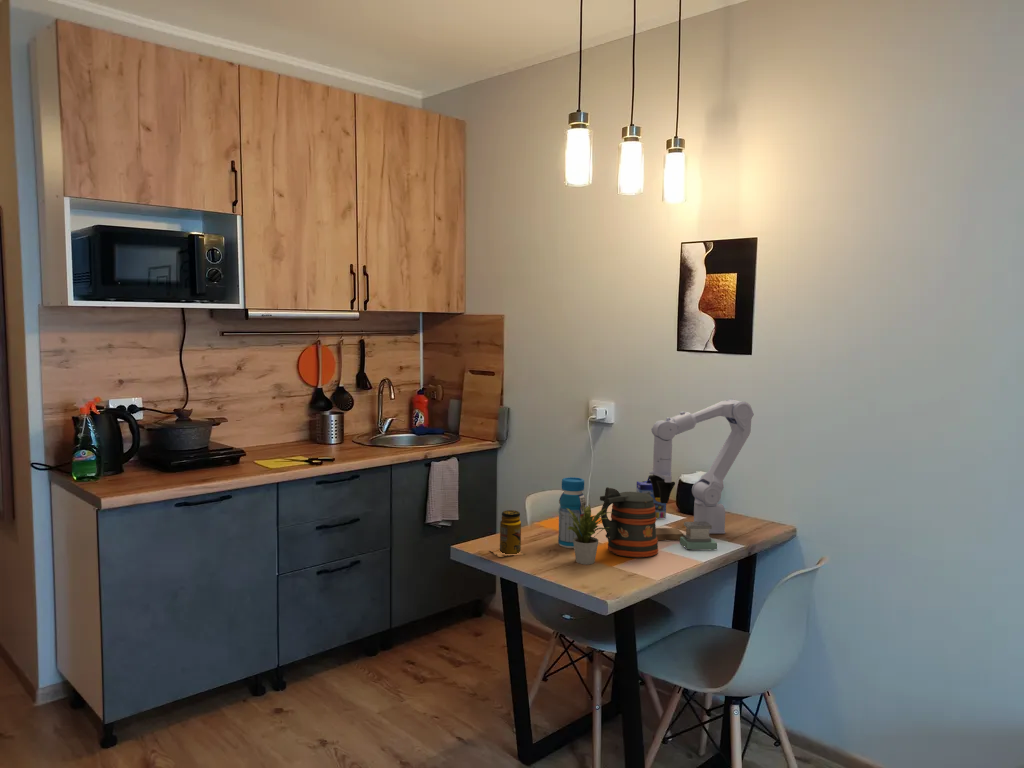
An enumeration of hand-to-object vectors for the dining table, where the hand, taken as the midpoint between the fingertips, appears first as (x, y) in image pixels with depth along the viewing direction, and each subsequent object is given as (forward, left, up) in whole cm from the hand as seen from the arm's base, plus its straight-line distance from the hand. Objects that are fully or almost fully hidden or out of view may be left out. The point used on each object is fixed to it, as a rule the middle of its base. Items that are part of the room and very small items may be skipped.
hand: (660, 500), depth 238 cm
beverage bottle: (+31, +13, -11) cm, 35 cm away
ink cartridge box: (-2, -19, -11) cm, 22 cm away
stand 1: (0, +6, -10) cm, 12 cm away
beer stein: (+16, +21, -11) cm, 28 cm away
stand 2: (-7, +16, -10) cm, 20 cm away
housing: (-7, +16, -8) cm, 19 cm away
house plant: (+29, +30, -11) cm, 43 cm away
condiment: (+51, +20, -11) cm, 56 cm away
